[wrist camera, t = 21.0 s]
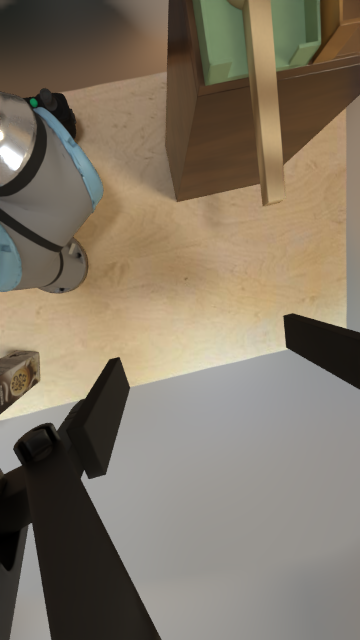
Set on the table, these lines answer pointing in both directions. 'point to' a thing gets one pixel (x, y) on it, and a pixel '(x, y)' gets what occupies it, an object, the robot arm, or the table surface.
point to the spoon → (264, 96)
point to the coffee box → (17, 376)
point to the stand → (239, 112)
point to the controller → (55, 108)
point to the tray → (229, 39)
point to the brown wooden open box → (338, 30)
